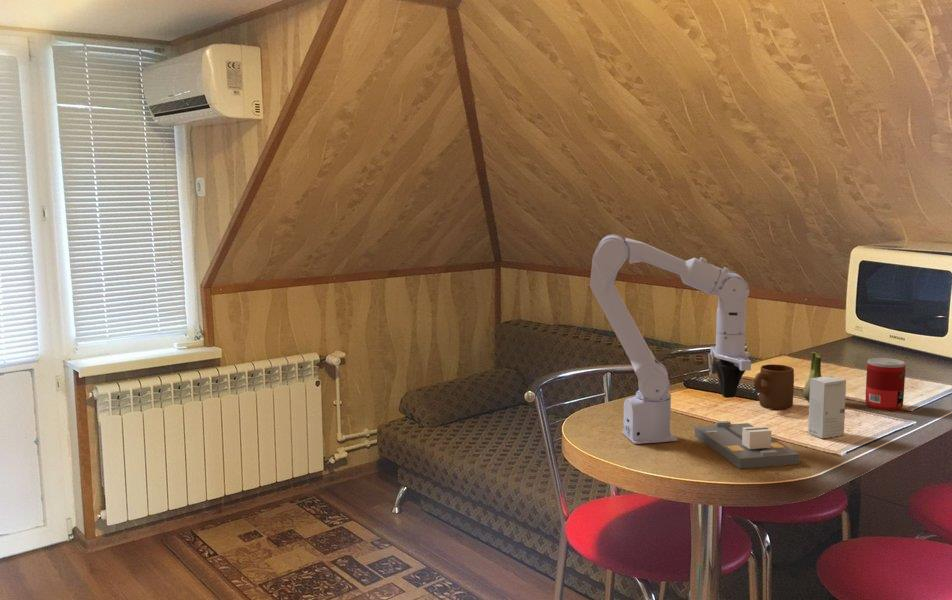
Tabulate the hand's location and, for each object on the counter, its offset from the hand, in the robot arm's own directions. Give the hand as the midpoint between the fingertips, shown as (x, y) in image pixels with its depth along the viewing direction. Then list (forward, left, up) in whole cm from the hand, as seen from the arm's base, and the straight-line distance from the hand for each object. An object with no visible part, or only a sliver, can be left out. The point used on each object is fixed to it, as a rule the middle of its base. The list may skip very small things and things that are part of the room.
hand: (728, 396), depth 163 cm
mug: (+21, +20, -10) cm, 30 cm away
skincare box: (+22, -1, -10) cm, 24 cm away
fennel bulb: (+34, +23, -10) cm, 42 cm away
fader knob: (+1, -11, -7) cm, 13 cm away
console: (+1, -6, -9) cm, 11 cm away
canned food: (+47, +15, -10) cm, 50 cm away
